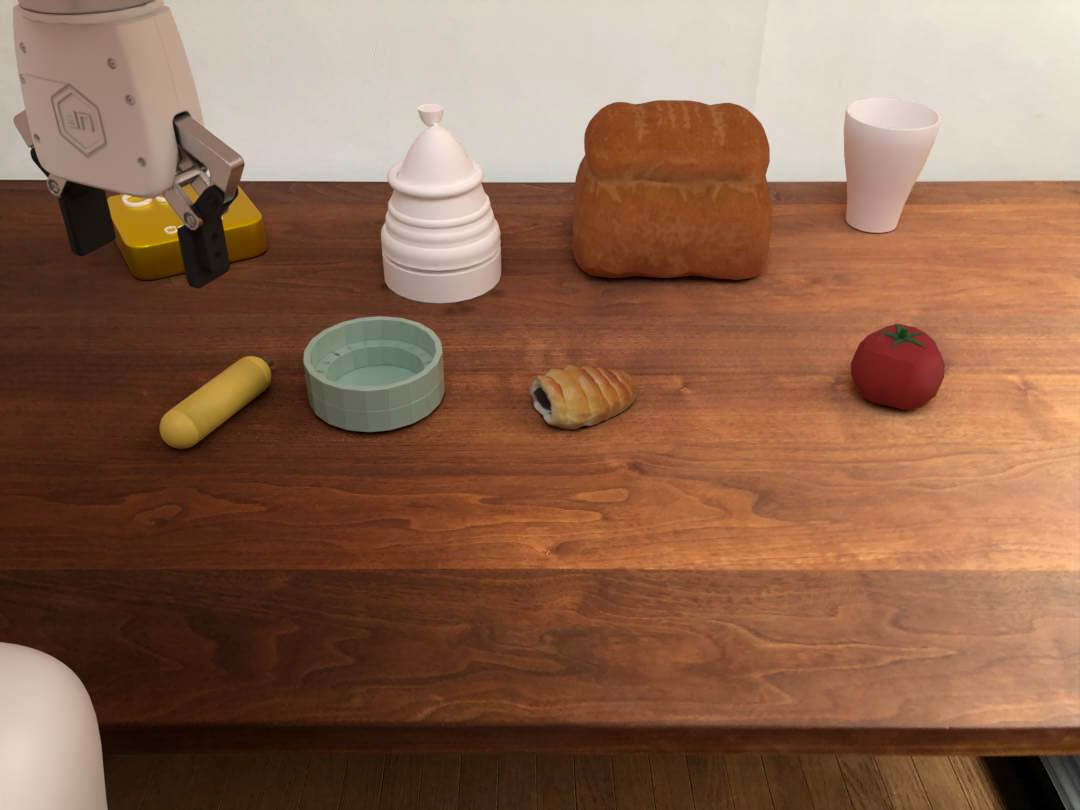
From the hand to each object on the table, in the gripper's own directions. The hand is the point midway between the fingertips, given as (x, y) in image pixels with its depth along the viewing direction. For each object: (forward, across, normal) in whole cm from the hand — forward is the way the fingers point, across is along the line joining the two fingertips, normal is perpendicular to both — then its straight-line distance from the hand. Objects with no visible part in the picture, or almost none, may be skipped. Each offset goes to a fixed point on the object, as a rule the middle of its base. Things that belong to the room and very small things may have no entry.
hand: (151, 263), depth 67 cm
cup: (+23, +32, +80) cm, 89 cm away
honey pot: (+23, -7, +45) cm, 51 cm away
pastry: (+24, +17, +29) cm, 41 cm away
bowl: (+23, 0, +22) cm, 32 cm away
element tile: (+22, -37, +38) cm, 58 cm away
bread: (+23, +13, +61) cm, 66 cm away
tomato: (+24, +42, +44) cm, 65 cm away
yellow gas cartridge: (+22, -9, +13) cm, 27 cm away
